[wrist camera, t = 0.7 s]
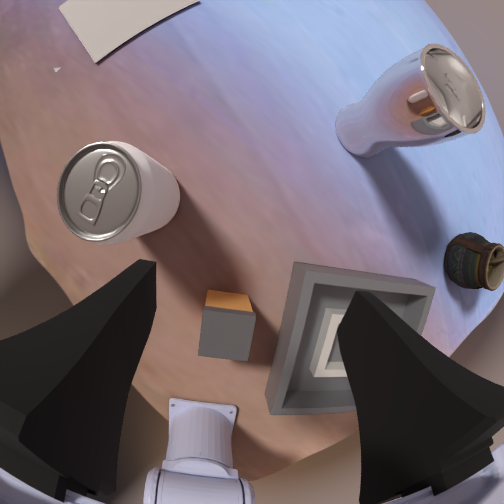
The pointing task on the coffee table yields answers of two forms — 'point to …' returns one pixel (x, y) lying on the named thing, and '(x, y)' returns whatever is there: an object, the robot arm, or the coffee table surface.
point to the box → (329, 335)
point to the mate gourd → (474, 262)
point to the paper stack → (114, 20)
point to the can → (115, 193)
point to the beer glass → (414, 105)
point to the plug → (226, 326)
